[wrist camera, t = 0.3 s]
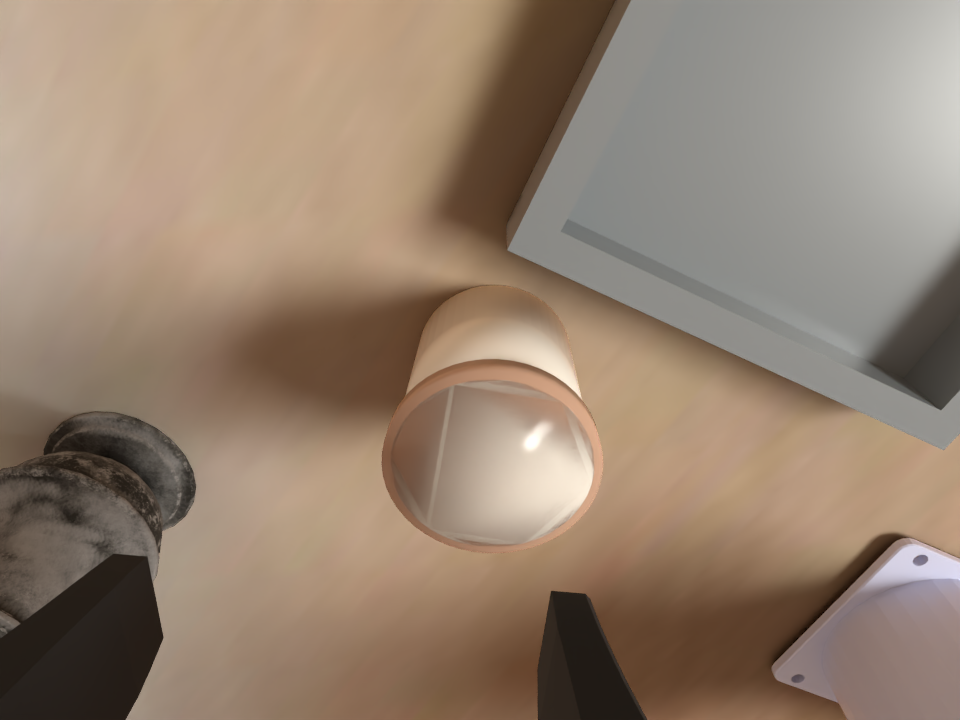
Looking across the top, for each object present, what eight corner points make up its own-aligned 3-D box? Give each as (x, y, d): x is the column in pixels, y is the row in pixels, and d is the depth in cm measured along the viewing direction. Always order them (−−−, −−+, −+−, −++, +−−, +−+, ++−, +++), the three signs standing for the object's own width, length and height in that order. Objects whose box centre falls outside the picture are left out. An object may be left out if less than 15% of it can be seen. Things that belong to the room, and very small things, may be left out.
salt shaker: (26, 390, 22) (-439, 738, 11) (203, 420, 22) (-79, 786, 11) (46, 524, 24) (-312, 912, 14) (204, 549, 25) (-24, 947, 14)
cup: (606, 320, 20) (645, 425, 15) (530, 447, 22) (539, 579, 17) (452, 250, 19) (433, 335, 14) (388, 389, 21) (350, 509, 16)
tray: (1308, -61, 15) (1448, -78, 13) (896, 406, 21) (943, 450, 19) (814, -409, 13) (880, -503, 11) (506, 224, 19) (507, 249, 16)
